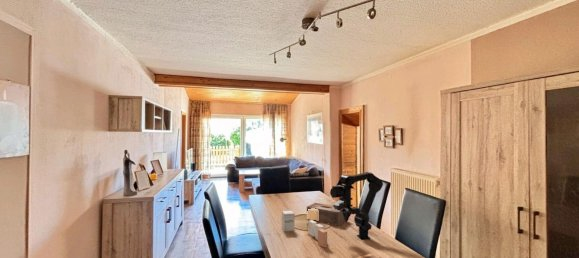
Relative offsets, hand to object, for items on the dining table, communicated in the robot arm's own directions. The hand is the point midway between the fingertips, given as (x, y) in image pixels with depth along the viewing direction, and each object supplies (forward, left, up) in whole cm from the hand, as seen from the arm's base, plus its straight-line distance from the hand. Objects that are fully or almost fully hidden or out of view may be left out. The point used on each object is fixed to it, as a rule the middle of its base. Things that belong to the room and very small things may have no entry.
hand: (346, 221), depth 163 cm
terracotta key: (+5, -17, -11) cm, 21 cm away
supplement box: (-24, -32, -12) cm, 42 cm away
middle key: (-4, -16, -11) cm, 20 cm away
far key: (-11, -18, -11) cm, 24 cm away
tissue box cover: (-41, +1, -12) cm, 43 cm away
